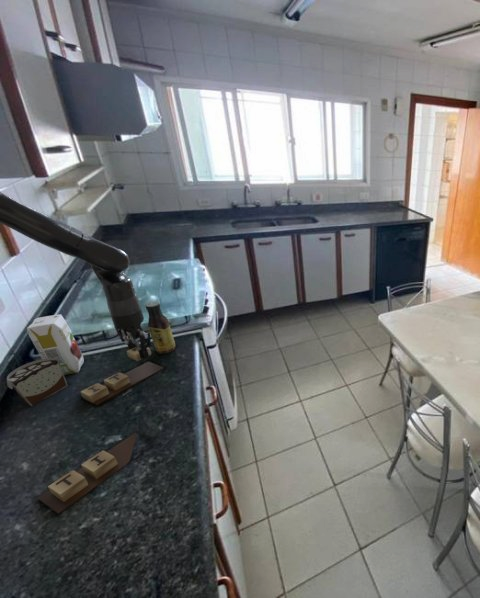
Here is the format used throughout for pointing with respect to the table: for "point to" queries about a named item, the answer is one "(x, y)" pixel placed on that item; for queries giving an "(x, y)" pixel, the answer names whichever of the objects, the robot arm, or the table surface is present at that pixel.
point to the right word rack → (119, 383)
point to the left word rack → (87, 476)
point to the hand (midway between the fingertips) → (139, 355)
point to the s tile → (136, 353)
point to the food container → (37, 380)
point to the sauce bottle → (160, 329)
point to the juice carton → (56, 342)
